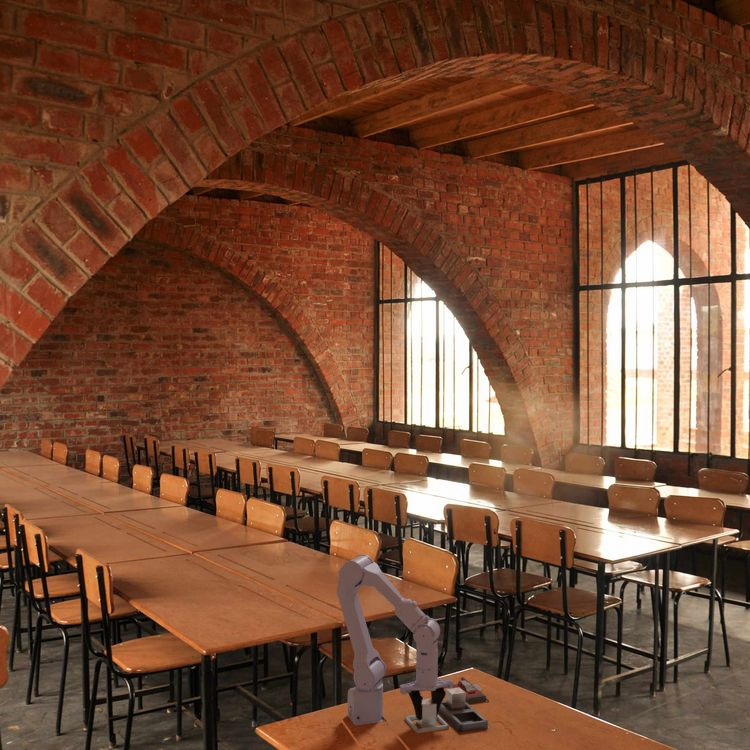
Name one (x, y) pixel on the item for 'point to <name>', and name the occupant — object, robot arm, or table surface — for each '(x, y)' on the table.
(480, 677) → the table surface
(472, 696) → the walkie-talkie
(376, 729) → the table surface
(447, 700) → the seated billet
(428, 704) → the loose billet
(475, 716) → the metal divided rack
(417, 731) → the grey square tray
